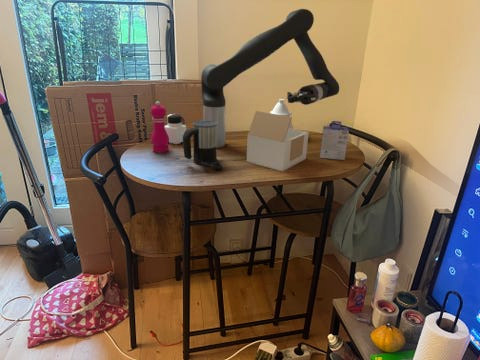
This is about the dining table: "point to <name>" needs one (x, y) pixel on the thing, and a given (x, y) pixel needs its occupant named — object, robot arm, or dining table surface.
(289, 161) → the carton
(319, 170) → the dining table surface
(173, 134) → the medicine bottle
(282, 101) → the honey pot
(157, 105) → the pepper mill
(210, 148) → the milk frother
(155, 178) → the dining table surface
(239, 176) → the dining table surface
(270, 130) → the front flap
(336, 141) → the ink cartridge box
